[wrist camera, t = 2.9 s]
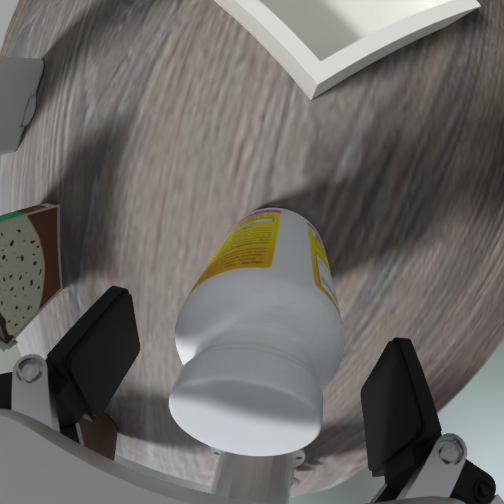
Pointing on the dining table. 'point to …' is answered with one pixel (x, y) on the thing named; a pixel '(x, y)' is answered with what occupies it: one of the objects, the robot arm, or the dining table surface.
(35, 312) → the food container
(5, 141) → the tall pale column
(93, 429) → the plant pot
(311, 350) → the supplement bottle
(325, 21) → the box
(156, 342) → the dining table surface
